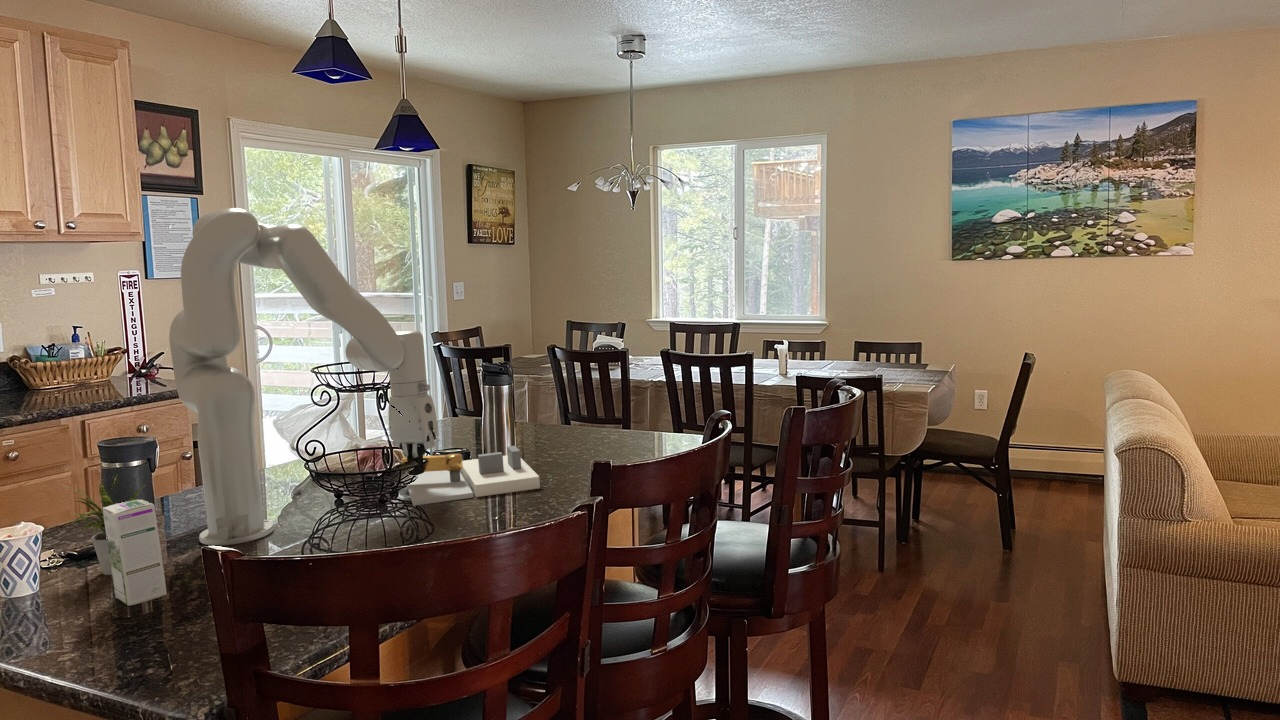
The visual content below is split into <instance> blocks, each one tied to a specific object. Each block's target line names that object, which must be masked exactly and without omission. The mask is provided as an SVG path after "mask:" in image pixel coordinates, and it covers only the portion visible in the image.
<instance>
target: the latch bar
mask: <svg viewBox="0 0 1280 720" xmlns="http://www.w3.org/2000/svg"><path fill="white" fill-rule="evenodd" d="M423 460H425V461H427V460H428V462H426V463H425V464H424V472H429V471H446V470H447V471H458V470H461V469H463V463H462V461H463V455H462V453H449V454H441V455H440V454H439V455H423ZM406 461H407V457H405V456H403V457H402V458H401V464H402V463H403V462H406Z"/></svg>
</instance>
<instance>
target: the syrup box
mask: <svg viewBox="0 0 1280 720" xmlns="http://www.w3.org/2000/svg"><path fill="white" fill-rule="evenodd" d="M149 502H150V501H147V500H144V499H141V498H138V499H137V498H136V499H135V500H131V501H129V500H125V502H121V503H117V502H116V503H115V504H114V505H110V506H107V507H104V506H103V507H102V509H103V515H104V516H103V519H104V523H105V530H106V537H107V544H108V550H109V558H110V564H111V572H112V575H111V577H112V584H113V591H114V597H115V599H116V600H119V601H120V602H121V603H123V604H124V605H126V606H135V605H137V604H141V603H146V602H148V601H151V600H155V599H158V598H160V597H161V598H162V597H164V596H167V594H168V593H167V585H166V578H165V570H164V569H165V568H164V562H163V556H162V548H161V541H160V534H159V529H158V522H157V514H156V513H157V512H156V508H155V507H156V506H155V504H154V503H152V502H150V503H149ZM104 523H103V524H104Z"/></svg>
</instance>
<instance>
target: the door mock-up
mask: <svg viewBox="0 0 1280 720" xmlns="http://www.w3.org/2000/svg"><path fill="white" fill-rule="evenodd" d="M506 453H507V454H506V455H503V453H502V451H498V452H491V453H482V454H477V458H474V459H466V460H462V463H463V469H461V470H458V471H447V470H446V471H428V472H424V473H422V474H419V475H417V476H418V478H417V479H416V480H415V481H414V482H412V483H410V484H408V485H406V487H407V488H406V489H407V492H408V494H409V497H410V500H411V503H412V506H420V505H422V506H423V505H428V504H435V503H442V502H449V501H457V500H464V499H472V498H473V499H474V496H475V497H476V498H478V497H485V496H493V495H494V496H495V495H500V494H506V493H507V494H509V493H514V492H515V493H516V492H523V491H529V490H530V491H531V490H537V489H538V490H539V489H541V482H540V481H541V480H540V476H539V474H537V472H536V471H534V469H532V468H531V466H530V465H529V464H528V463H527V462H525V460H524V459H523V458H522V456H521V450H520V449H519V448H518V447H517V446H516V445H509V446H506Z"/></svg>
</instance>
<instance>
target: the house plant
mask: <svg viewBox="0 0 1280 720" xmlns="http://www.w3.org/2000/svg"><path fill="white" fill-rule="evenodd" d="M116 477H118V473H117V474H116V476H115V478H114V482H113V484H112V487H113V485H114V484H115V481H116V482H117V478H116ZM146 483H148V481H145V483H144V484H143V485H144V486H143V487H142V488H141V487H140V488H141V489H140V488H139V489H138V490H136V492H134V493H133V494H132V495H131V496H130V498H129V500H128V501H131V500H136V499H137V498H136V497H137V496H138V494H139V493H140V491H142V489H144V488H145V487H148V486H149V485H146ZM102 487H103V494H102ZM63 489H64V490H69V488H63ZM112 489H113V488H111V491H112ZM70 490H73V491H77V492H76V493H75V492H74V494H77V495H78V494H79V495H83V496H85V498H87V499H85V498H82V497H77V499H78V500H75V501H73V503H77V502H79V503H81V504H83V505H85V506H86V507H88V508H89V509H90V510H91V511H87V512H84V513H83V512H82V513H80V514H79V513H74V512H73V513H72V512H71V513H66V514H68V515H70V514H71V515H76V516H79V517H78V518H76V519H74V520H73V521H72V522H71V523H70V525H72V524H74V523H76V522H79V523H80V522H81V521H82V522H84V521H85V522H88V523H87V524H85V525H84V527H83V530H82V532H84V531H85V530H86V529H88V528H90V527H92V526H93V532H95V530H97V529H98V530H101V532H98V533H95V534H93V536H92V537H91V542H92V544H93V547H94V550H95V553H96V556H97V561H98V563H99V565H100V568H101V571H102V573H103V575H105V576H112V572H111V564H110V558H109V550H108V544H107V539H106V530H105V523H104V515H103V508H101V507H100V506H99V505H97V503H96V502H95V501H94V500H93V499H92V498H91V497H89V495H87V494H86V493H84V492H83V491H81V490H78V489H75V488H70ZM99 495H100V498H101V500H100V503H101V504H102V505H103V501H104V506H103V507H107V506H110V505H114V502H113V501H112V500H111V495H110V497H109V495H108V493H107V492H106V490H105V489H104V486H103V484H102V482H100V483H99ZM66 499H69V497H67V498H64V500H66ZM79 499H80V500H79ZM70 503H72V501H71V502H70ZM95 508H96V509H95ZM91 515H93V516H97V517H98V518H99V520H98V519H96V518H94V517H90V516H91ZM90 519H91V520H90ZM93 520H94V521H93ZM95 521H96V522H95Z"/></svg>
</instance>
